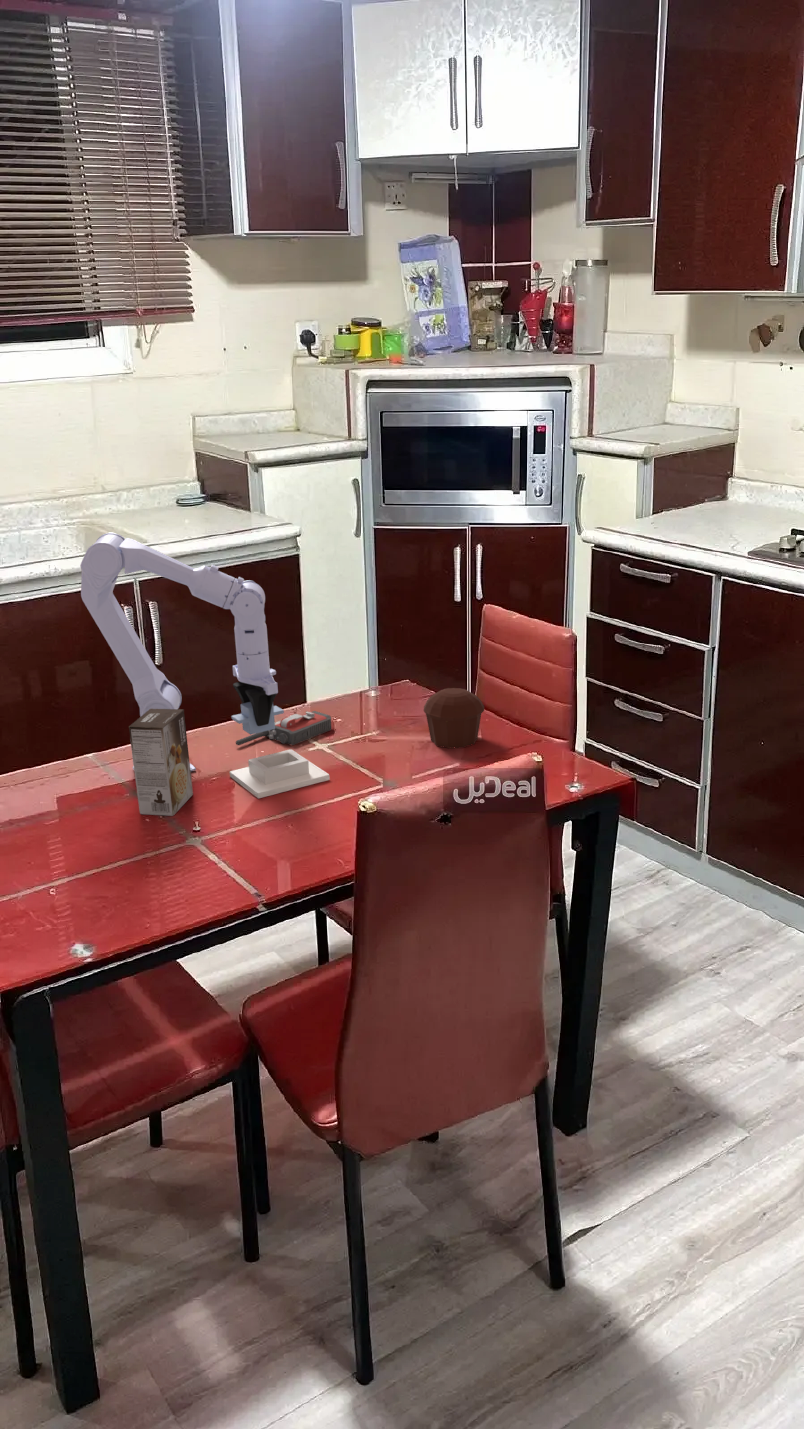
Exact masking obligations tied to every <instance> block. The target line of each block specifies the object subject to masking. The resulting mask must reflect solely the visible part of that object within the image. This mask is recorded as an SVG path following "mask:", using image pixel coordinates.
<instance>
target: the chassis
mask: <svg viewBox="0 0 804 1429" xmlns="http://www.w3.org/2000/svg"><path fill="white" fill-rule="evenodd" d="M247 760H248V762H247V763H248V766H246V767H242V768H239V769H233V770H230V771H229V778H231V779H233V780H234V781H235V782H236V783H238V784H239V785H240V786H241V787H243V788H244V789H245V790H247V792H249V793H251V794H252V795H253V796H254V797H256V798H257V799H261V798H265V797H269V796H273V795H277V794H281V793H284V792H288V791H292V790H296V789H299V788H303V787H308V786H312V785H314V784H319V783H323V782H326V781H330V780H331V778H330V774H329V773H328V772H326V771H325V770H323V769H322V768H320V767H318V766H317V765H315V764H314V763H313V762H311V761H310V760H309V759H307V758H306V757H304V756H303V755H300V754H299V753H298V752H296V750H295V751H294V750H293V749H287V750H286V749H285V750H283V751H279V752H273V753H270V754H266V755H265V754H264V755H261V756H258V757H253V758H250V759H247Z"/></svg>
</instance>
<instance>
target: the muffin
mask: <svg viewBox="0 0 804 1429" xmlns="http://www.w3.org/2000/svg"><path fill="white" fill-rule="evenodd" d="M484 711H485V705H484V704H483V702H482V700H481V698H480V697H479V696H477V695H476V694H474V693H472V692H471V691H470V690H467V689H465V688H457V687H447V688H444V689H440V690H439V691H437V692H435V693H433V694H432V695H431V696H430V697H429V698H427V700H426V702H425V704H424V706H423V712H424V714H425V716H426V721H427V725H428V732H429V736H430V742H432V743H433V744H434V745H435V746H436V747H440V746H442V748H445V747H447V748H446V749H460V748H459V747H464V748H466V747H465V746H467V745H470V746H472V745H471V744H473V745H475V743H476V741H477V740H478V737H479V731H480V730H479V729H480V725H481V724H480V723H481V718H482V714H483V712H484ZM443 746H444V747H443ZM454 747H455V748H454ZM467 747H468V746H467Z"/></svg>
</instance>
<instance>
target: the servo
mask: <svg viewBox="0 0 804 1429" xmlns="http://www.w3.org/2000/svg"><path fill="white" fill-rule="evenodd" d="M240 710H241V712H240V713H238V714H233V715H231V716H230V717H231V719H232V720H233V721H234V722H236V723H237V724H239V725H240V724H241V725H242V731H244V732H246V733H247V734H248V735H249V736H250V735H253V734H256V733H259V732H263V731H267V730H272V729H275V716H279V715H282V714H285V710H284V708H283V709H282V708H281V707H279V706H277V705H274V703H273V704H272V708H271V713H270V719H269V724H267V725H263V726H257V724H256V721H255V717H254V712H253V708H252V704H251V702H247V703H243V704H242V703H241V704H240Z"/></svg>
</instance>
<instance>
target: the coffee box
mask: <svg viewBox="0 0 804 1429" xmlns="http://www.w3.org/2000/svg"><path fill="white" fill-rule="evenodd" d="M128 731H129V740H131V741H130V748H132V749H131V756H133V758H132V764H134V770H133V771H134V777H135V786H136V793H137V794H136V795H137V802H138V810H139V814H140V815H151V816H152V815H153V816H169V817H173V816H175V814H177V812H178V811H179V810H180V809H181V808H182V807H183V806H185V804H186V803H187V801H188V800H190V798H191V797H192V796H193V795H194V791H193V782H192V771H190V764H191V762H190V755H189V754H190V753H189V752H190V751H189V746H188V736H187V734H188V733H187V727H186V719H185V709H181V708H178V709H149V710H148V711H147V712H146V713H145V714H143V715H142V716H141V717H139V718H137V719H136V720H135V721H134V722H132V723H131V724H130V725H128Z"/></svg>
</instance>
